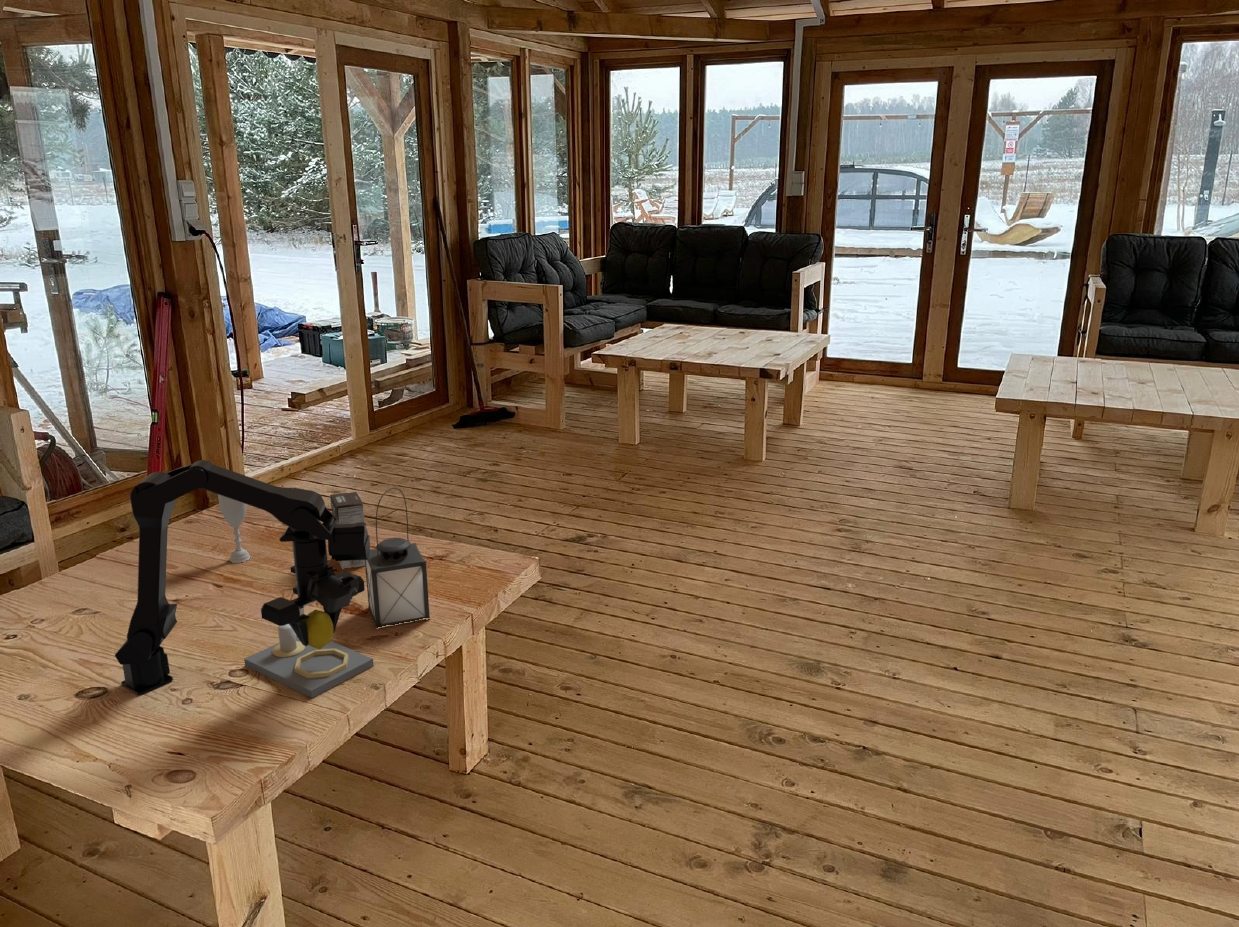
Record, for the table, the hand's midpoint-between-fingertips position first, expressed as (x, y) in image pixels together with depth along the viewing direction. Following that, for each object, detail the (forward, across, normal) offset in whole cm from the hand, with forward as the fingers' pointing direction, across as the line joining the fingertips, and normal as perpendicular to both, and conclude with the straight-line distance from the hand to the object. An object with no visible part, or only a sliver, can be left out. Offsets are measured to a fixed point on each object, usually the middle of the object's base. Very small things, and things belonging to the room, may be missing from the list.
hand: (318, 639), depth 170 cm
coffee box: (+7, +38, +38) cm, 54 cm away
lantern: (+7, +25, +7) cm, 27 cm away
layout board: (+7, 0, +4) cm, 8 cm away
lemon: (+2, 0, 0) cm, 2 cm away
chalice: (+7, +23, +61) cm, 66 cm away
